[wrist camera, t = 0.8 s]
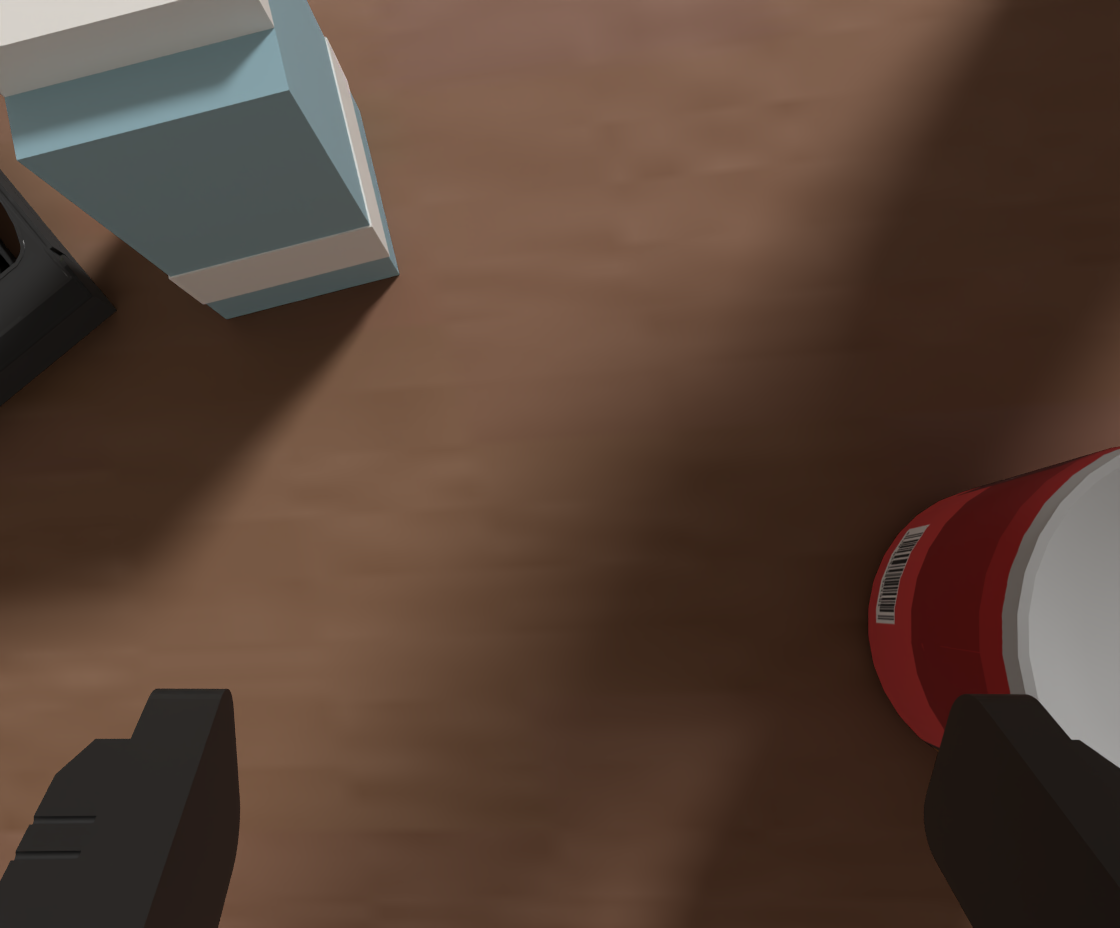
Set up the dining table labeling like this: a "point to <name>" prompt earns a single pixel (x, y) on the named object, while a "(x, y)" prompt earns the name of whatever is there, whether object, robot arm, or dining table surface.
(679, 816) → the dining table surface
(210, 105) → the carton
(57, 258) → the vhs tape
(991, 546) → the canned food
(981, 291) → the dining table surface
